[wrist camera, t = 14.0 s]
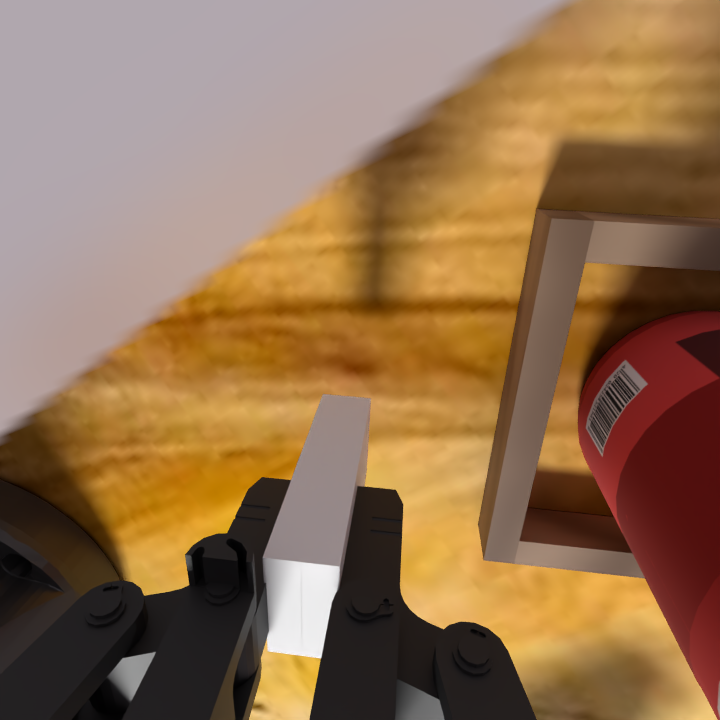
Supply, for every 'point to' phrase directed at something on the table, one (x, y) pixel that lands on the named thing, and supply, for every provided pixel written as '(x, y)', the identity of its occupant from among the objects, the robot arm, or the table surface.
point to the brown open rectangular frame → (540, 373)
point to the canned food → (665, 470)
